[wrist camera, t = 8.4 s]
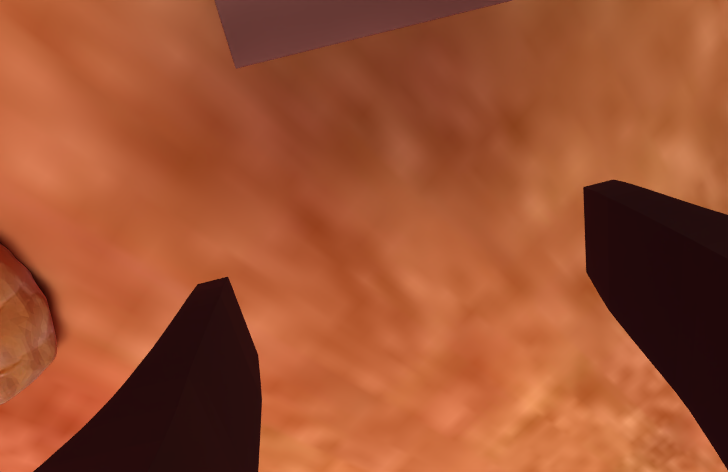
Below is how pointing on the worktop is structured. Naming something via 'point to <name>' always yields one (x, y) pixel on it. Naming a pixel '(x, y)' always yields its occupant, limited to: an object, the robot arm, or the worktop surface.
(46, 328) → the pastry
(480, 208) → the worktop surface
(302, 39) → the base
